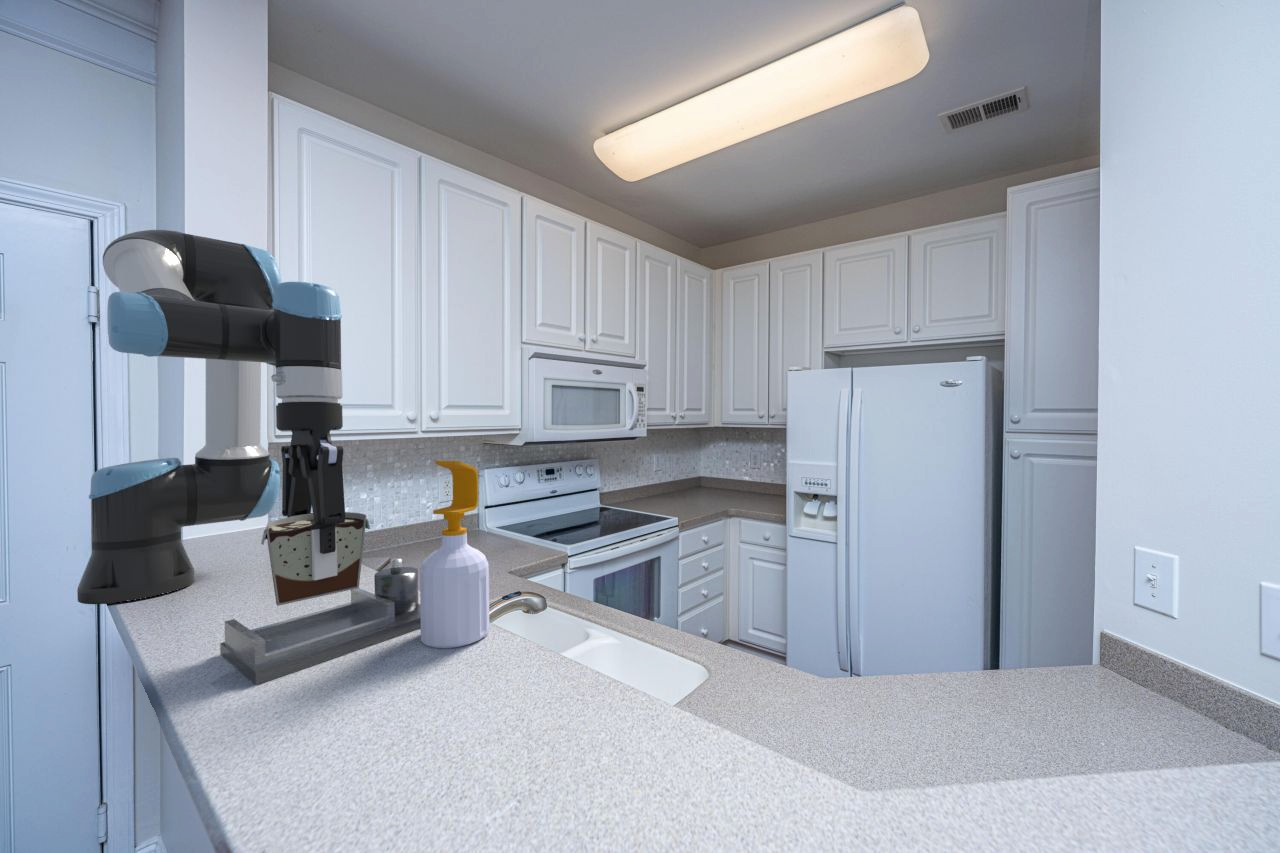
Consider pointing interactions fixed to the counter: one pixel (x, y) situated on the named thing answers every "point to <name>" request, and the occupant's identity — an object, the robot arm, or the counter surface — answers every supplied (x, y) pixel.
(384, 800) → the counter surface
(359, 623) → the tray
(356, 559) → the food container
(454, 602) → the soap bottle
